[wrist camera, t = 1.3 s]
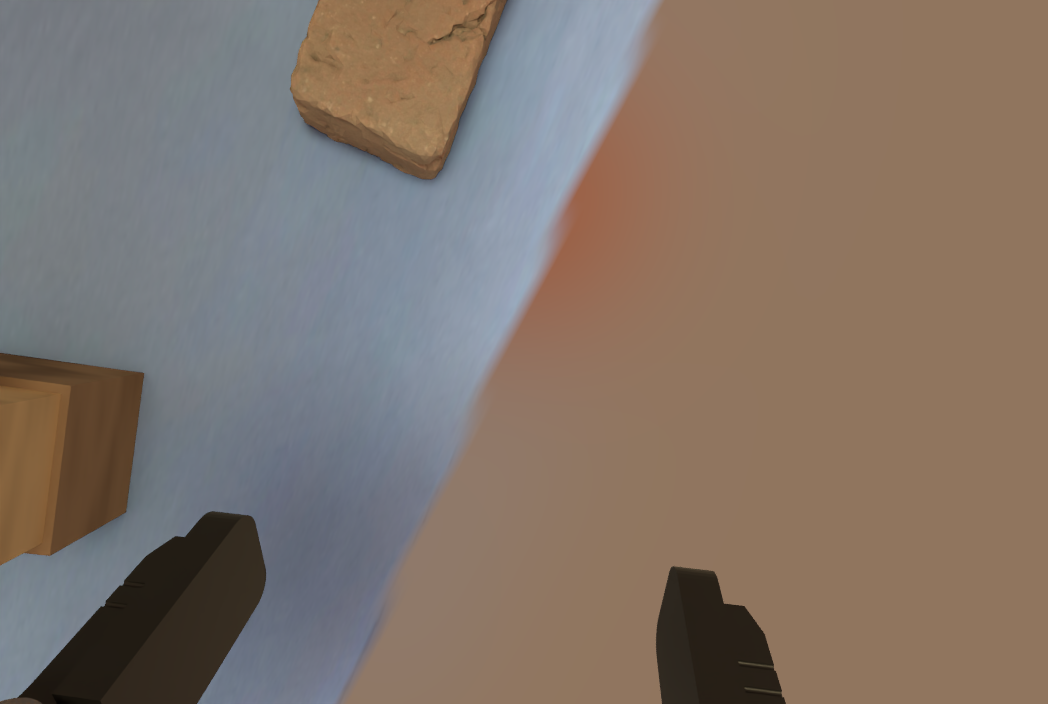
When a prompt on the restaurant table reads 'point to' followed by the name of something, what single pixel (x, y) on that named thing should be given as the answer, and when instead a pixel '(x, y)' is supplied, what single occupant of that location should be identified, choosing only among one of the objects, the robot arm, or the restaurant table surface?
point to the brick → (393, 74)
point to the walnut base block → (83, 442)
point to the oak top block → (25, 466)
